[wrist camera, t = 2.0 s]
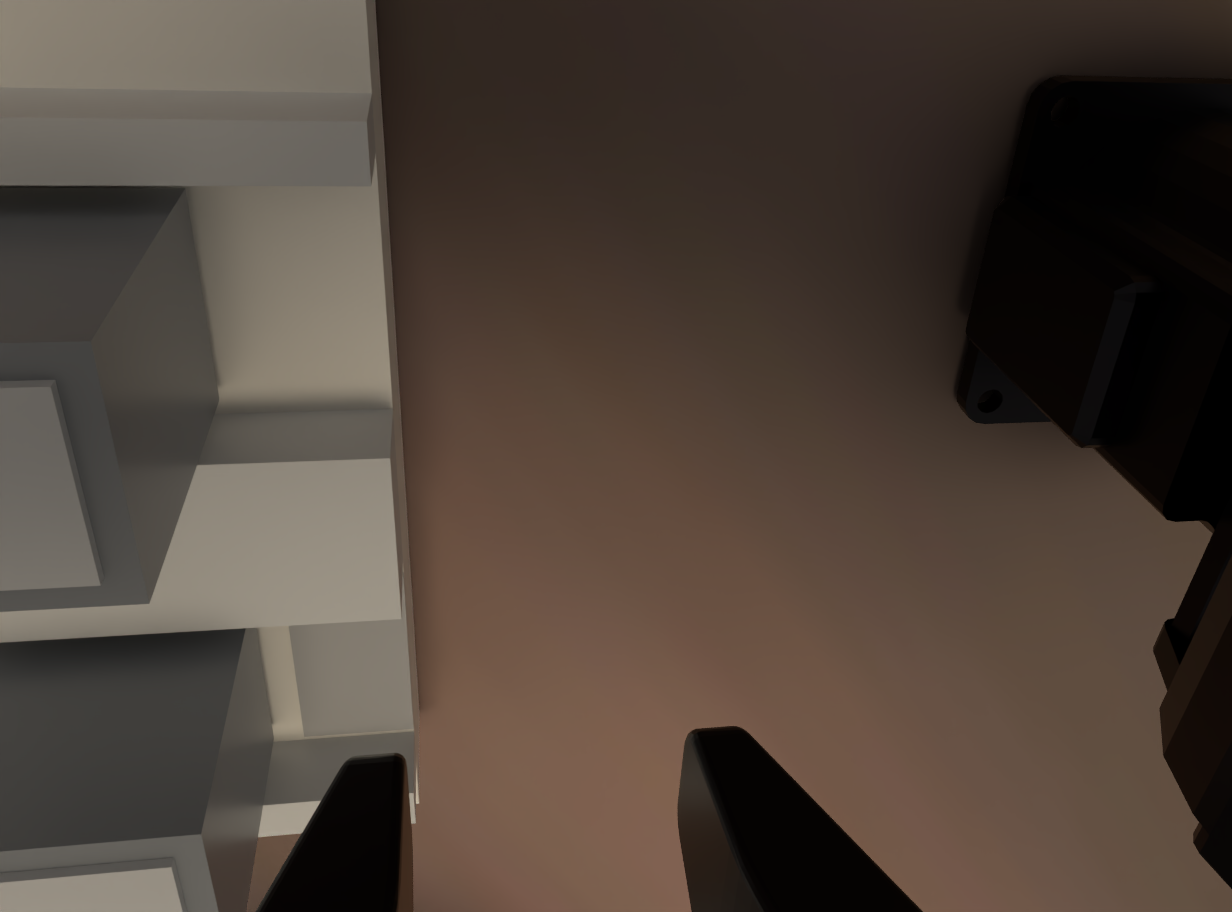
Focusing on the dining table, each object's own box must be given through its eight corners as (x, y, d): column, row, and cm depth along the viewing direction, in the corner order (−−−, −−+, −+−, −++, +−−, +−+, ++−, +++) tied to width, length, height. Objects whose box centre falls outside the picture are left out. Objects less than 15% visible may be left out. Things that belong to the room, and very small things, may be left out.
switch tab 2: (251, 600, 18) (198, 843, 14) (274, 737, 20) (233, 992, 15) (-6, 614, 17) (-144, 873, 13) (39, 755, 19) (-70, 1026, 15)
